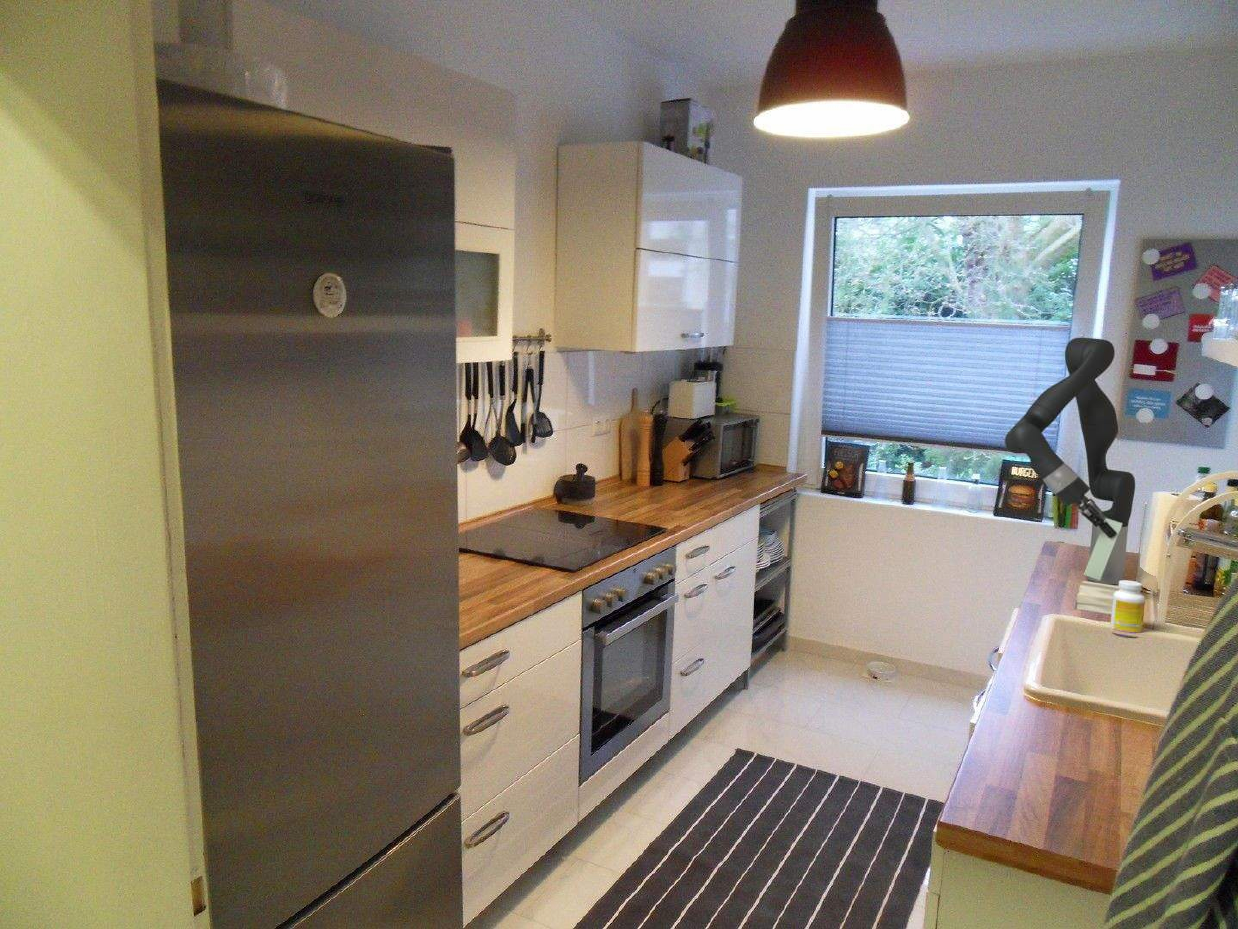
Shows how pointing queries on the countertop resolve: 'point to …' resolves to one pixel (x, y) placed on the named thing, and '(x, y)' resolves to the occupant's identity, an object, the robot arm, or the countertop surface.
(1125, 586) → the supplement bottle
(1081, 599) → the offcut stack
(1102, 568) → the sage slat
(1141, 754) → the countertop surface
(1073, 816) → the countertop surface
